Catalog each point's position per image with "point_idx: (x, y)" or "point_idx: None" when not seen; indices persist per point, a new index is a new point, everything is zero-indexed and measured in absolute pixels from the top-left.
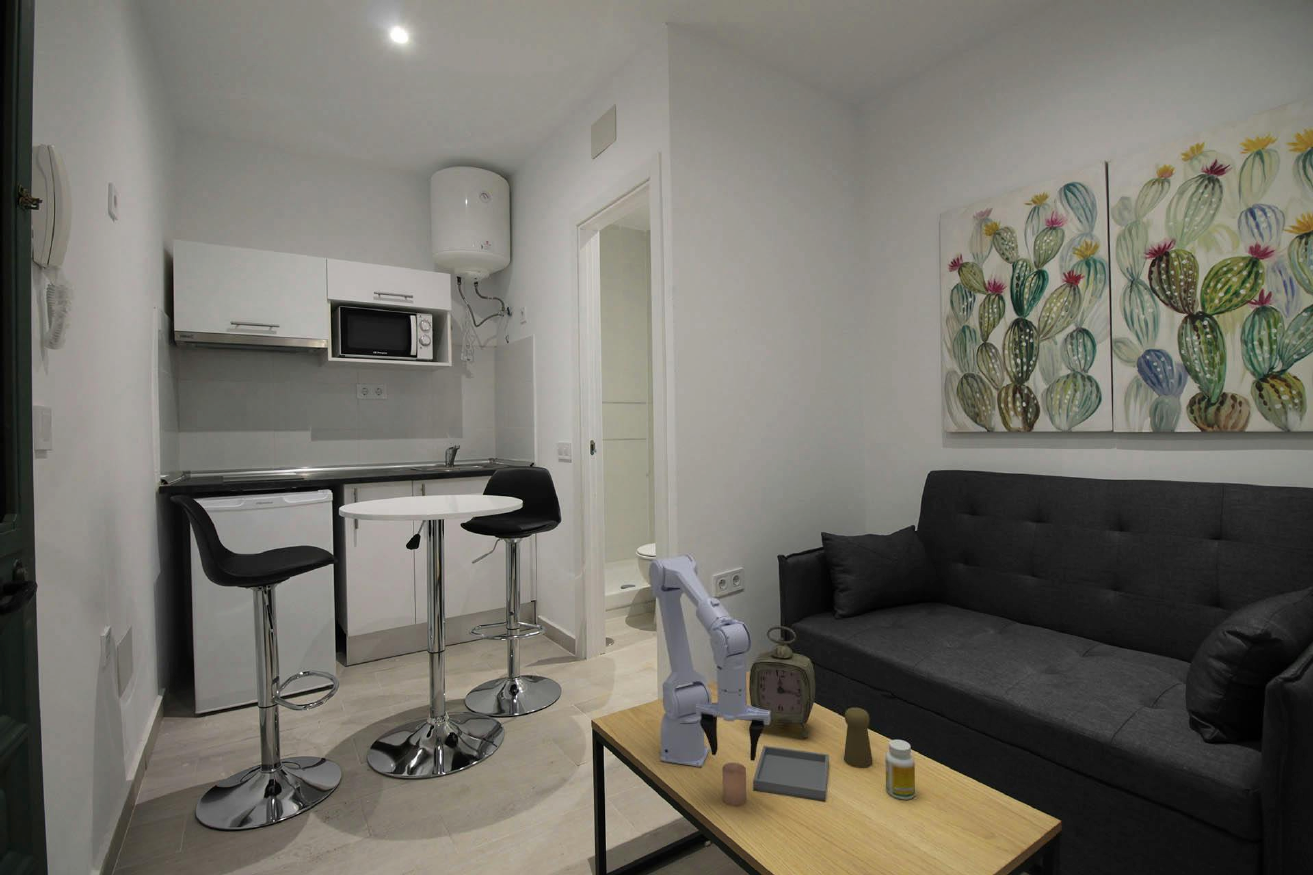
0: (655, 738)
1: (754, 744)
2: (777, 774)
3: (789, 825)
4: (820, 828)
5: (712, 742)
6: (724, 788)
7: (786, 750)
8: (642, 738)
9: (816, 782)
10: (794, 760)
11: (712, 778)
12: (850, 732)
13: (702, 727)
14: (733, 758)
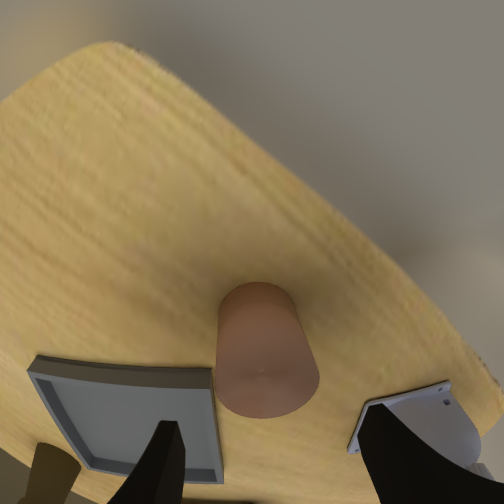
0: None
1: (129, 492)
2: None
3: (67, 238)
4: (8, 251)
5: (409, 448)
6: (294, 316)
7: None
8: None
9: (76, 408)
10: None
11: (335, 377)
12: (46, 497)
13: (500, 485)
14: (290, 446)
